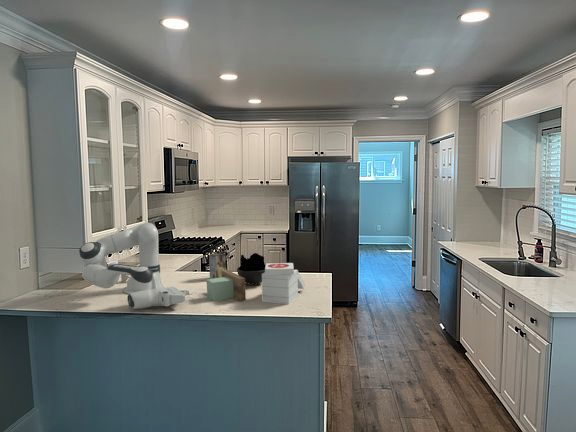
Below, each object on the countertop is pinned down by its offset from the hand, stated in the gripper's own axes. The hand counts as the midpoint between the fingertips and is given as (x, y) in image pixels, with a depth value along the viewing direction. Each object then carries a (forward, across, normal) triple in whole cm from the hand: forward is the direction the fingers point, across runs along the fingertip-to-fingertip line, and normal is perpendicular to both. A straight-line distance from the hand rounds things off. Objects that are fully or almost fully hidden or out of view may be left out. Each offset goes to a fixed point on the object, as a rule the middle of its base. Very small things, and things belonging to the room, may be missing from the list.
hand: (188, 292), depth 229 cm
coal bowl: (+46, -16, -6) cm, 49 cm away
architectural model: (-20, -67, -6) cm, 70 cm away
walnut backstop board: (+25, 0, -6) cm, 26 cm away
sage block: (+18, 0, -6) cm, 19 cm away
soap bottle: (-25, -87, -6) cm, 91 cm away
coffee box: (+33, -42, -6) cm, 54 cm away
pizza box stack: (+48, +17, -6) cm, 51 cm away
